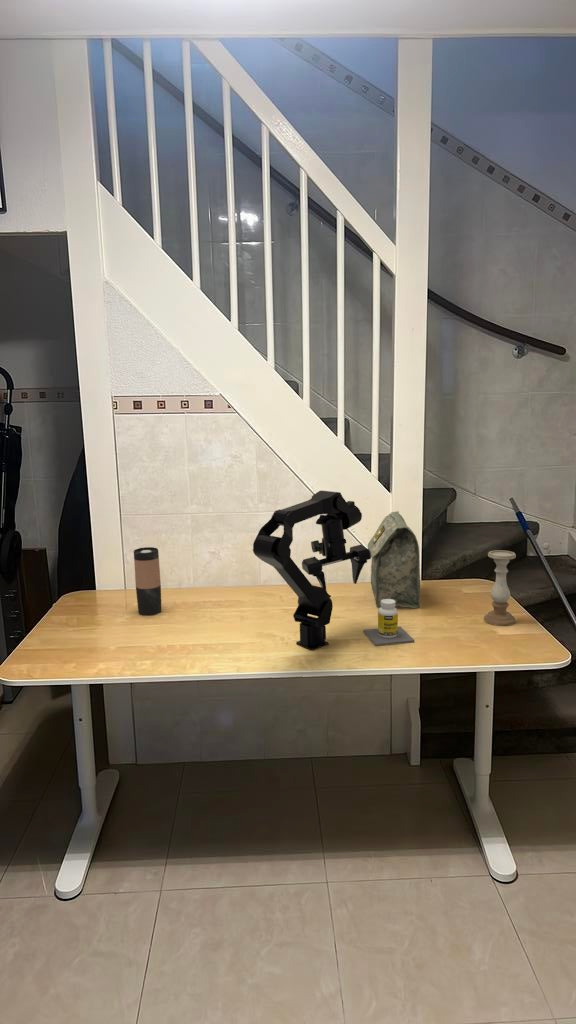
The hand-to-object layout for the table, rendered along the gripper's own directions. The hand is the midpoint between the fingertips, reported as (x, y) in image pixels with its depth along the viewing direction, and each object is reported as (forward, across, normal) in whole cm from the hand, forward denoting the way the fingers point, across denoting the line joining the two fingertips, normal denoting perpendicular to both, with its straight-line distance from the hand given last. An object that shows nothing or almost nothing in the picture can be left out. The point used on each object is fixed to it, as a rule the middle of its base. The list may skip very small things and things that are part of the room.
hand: (339, 587), depth 193 cm
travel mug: (+9, +50, -38) cm, 63 cm away
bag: (+18, -25, -20) cm, 37 cm away
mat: (+14, -9, +10) cm, 19 cm away
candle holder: (+19, -44, +11) cm, 49 cm away
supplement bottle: (+13, -8, +10) cm, 19 cm away
